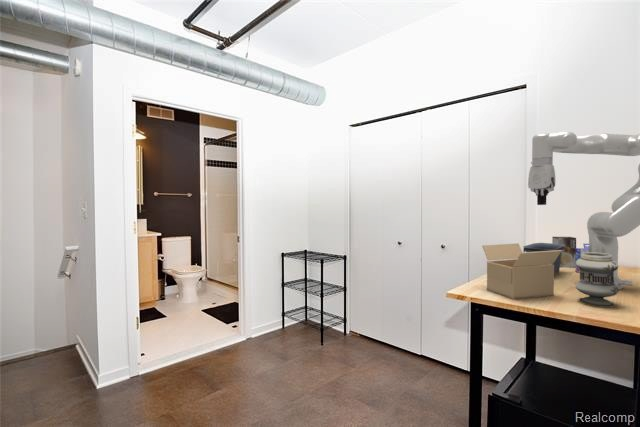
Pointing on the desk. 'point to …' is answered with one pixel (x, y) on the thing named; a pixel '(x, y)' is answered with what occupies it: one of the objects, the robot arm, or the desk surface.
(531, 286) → the carton
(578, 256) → the ink cartridge box
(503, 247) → the back flap
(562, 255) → the coffee box
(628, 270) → the desk surface
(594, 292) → the apothecary jar
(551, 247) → the storage bin
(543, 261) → the front flap
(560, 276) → the desk surface
